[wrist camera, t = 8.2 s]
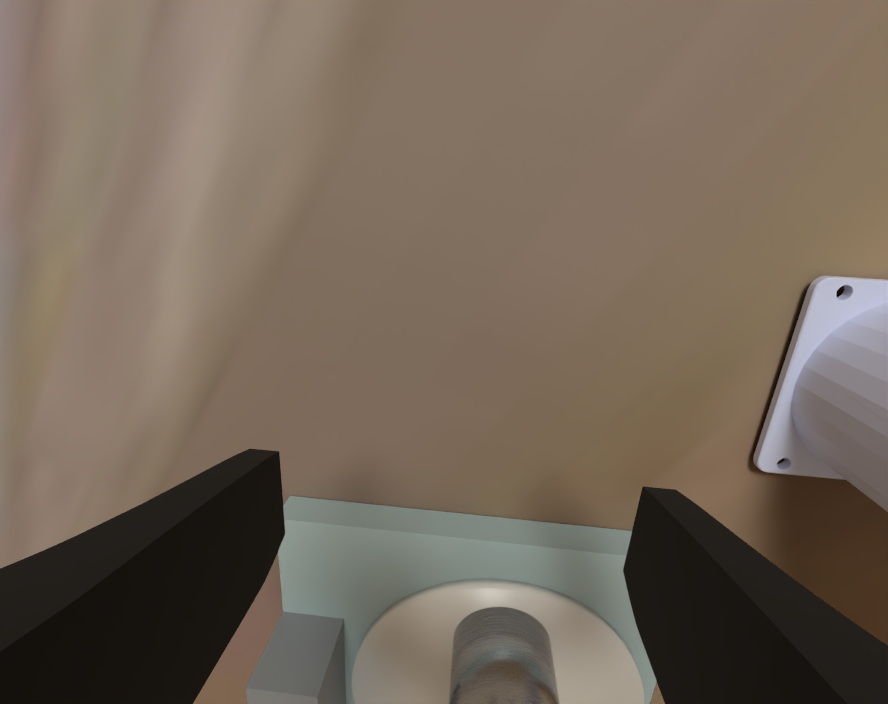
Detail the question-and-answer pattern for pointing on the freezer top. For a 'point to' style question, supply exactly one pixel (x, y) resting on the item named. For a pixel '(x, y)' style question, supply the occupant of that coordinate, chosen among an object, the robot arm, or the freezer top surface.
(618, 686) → the scale
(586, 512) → the freezer top surface
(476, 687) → the cylinder
